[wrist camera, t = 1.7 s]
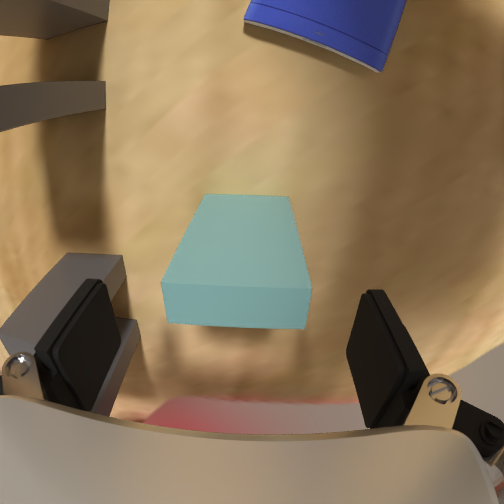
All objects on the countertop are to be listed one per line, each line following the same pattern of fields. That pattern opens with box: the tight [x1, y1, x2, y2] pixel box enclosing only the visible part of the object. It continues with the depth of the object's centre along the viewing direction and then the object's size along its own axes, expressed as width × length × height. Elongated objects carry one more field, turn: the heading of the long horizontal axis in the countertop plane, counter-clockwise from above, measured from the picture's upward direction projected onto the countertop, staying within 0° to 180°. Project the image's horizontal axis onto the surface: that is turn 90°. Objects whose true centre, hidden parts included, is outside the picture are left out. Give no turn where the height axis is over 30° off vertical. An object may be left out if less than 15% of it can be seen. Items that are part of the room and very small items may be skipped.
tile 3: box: [0, 81, 106, 132], centre depth 11 cm, size 2×5×10 cm, turn 88°
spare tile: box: [161, 194, 312, 329], centre depth 15 cm, size 2×5×10 cm, turn 88°
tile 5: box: [0, 253, 126, 355], centre depth 17 cm, size 2×5×10 cm, turn 88°
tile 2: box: [0, 0, 110, 40], centre depth 8 cm, size 2×5×10 cm, turn 88°
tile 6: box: [88, 317, 141, 417], centre depth 20 cm, size 2×5×10 cm, turn 88°
